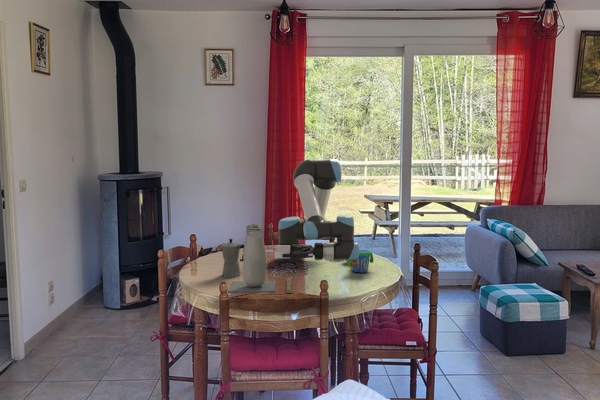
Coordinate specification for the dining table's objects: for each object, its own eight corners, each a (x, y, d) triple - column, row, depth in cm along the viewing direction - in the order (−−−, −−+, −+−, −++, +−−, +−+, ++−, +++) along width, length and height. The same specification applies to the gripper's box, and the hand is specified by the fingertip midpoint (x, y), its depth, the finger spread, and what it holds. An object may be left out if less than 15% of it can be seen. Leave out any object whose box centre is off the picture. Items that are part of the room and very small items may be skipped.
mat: (232, 282, 226) (232, 281, 226) (276, 281, 227) (276, 280, 227) (228, 292, 211) (228, 291, 210) (274, 291, 211) (274, 290, 211)
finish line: (286, 281, 228) (286, 279, 228) (291, 280, 228) (291, 279, 228) (286, 293, 208) (286, 292, 208) (291, 293, 208) (291, 292, 208)
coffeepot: (214, 276, 237) (213, 239, 235) (224, 271, 246) (223, 236, 244) (243, 279, 231) (242, 241, 229) (252, 274, 240) (251, 238, 238)
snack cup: (367, 267, 252) (367, 247, 251) (379, 271, 242) (379, 251, 242) (341, 271, 245) (341, 250, 244) (352, 275, 235) (352, 254, 235)
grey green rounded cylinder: (247, 290, 211) (246, 226, 208) (241, 284, 220) (239, 223, 218) (269, 287, 215) (268, 224, 212) (261, 282, 224) (260, 221, 221)
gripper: (325, 266, 204) (274, 267, 204) (321, 253, 229) (276, 253, 229) (325, 248, 203) (273, 249, 203) (321, 237, 228) (276, 238, 228)
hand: (275, 251), depth 216 cm, fingers open, 13 cm apart
